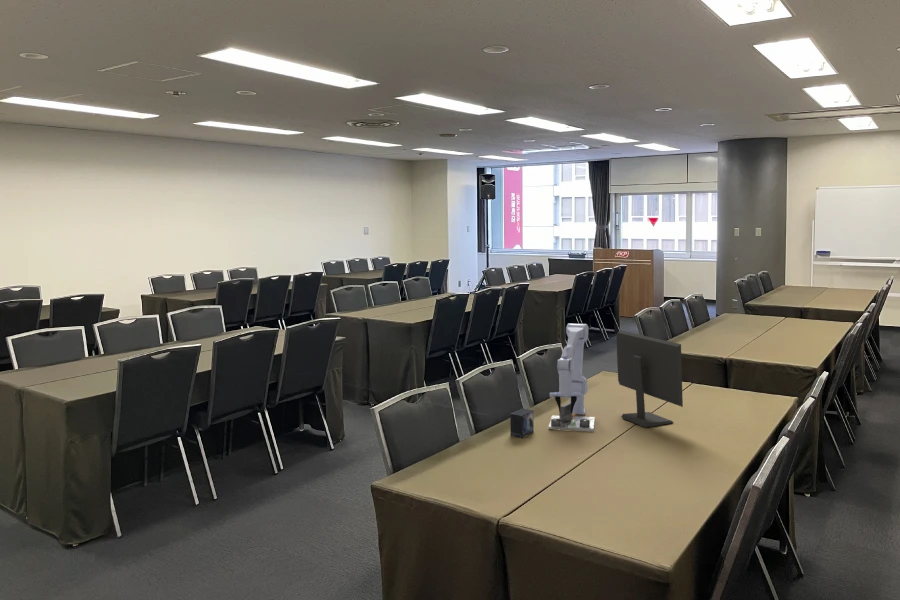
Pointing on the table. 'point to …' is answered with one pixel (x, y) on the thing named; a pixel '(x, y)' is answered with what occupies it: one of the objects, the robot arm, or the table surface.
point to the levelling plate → (578, 428)
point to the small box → (521, 423)
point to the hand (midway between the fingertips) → (565, 412)
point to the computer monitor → (649, 373)
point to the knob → (566, 412)
